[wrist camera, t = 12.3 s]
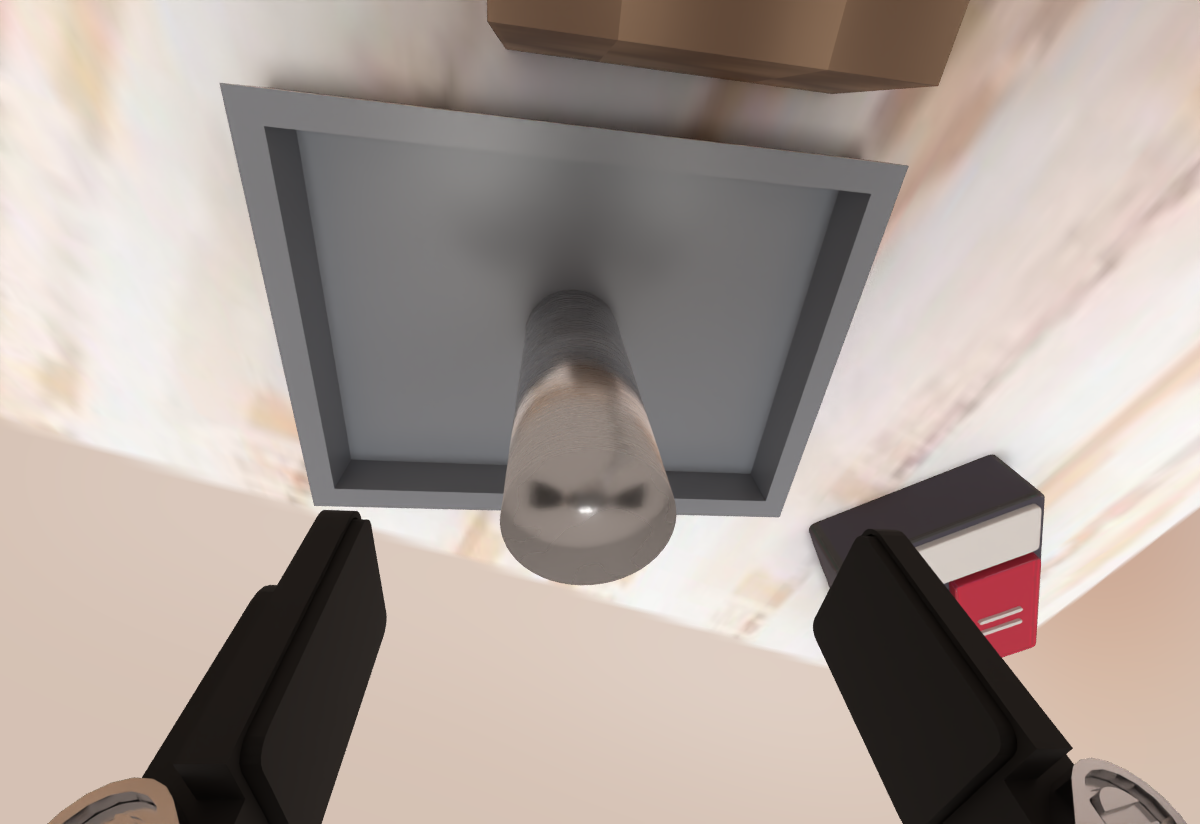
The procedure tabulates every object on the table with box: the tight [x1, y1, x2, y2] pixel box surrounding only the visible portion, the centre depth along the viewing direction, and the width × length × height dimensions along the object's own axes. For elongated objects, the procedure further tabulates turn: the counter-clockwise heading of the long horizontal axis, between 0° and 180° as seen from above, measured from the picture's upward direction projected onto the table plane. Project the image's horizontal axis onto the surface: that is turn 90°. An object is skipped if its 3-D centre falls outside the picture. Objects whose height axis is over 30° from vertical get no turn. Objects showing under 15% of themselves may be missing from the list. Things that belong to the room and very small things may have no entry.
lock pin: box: [500, 290, 676, 585], centre depth 17 cm, size 4×4×12 cm
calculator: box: [809, 455, 1044, 658], centre depth 32 cm, size 11×4×15 cm
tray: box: [220, 83, 908, 517], centre depth 21 cm, size 22×16×3 cm
